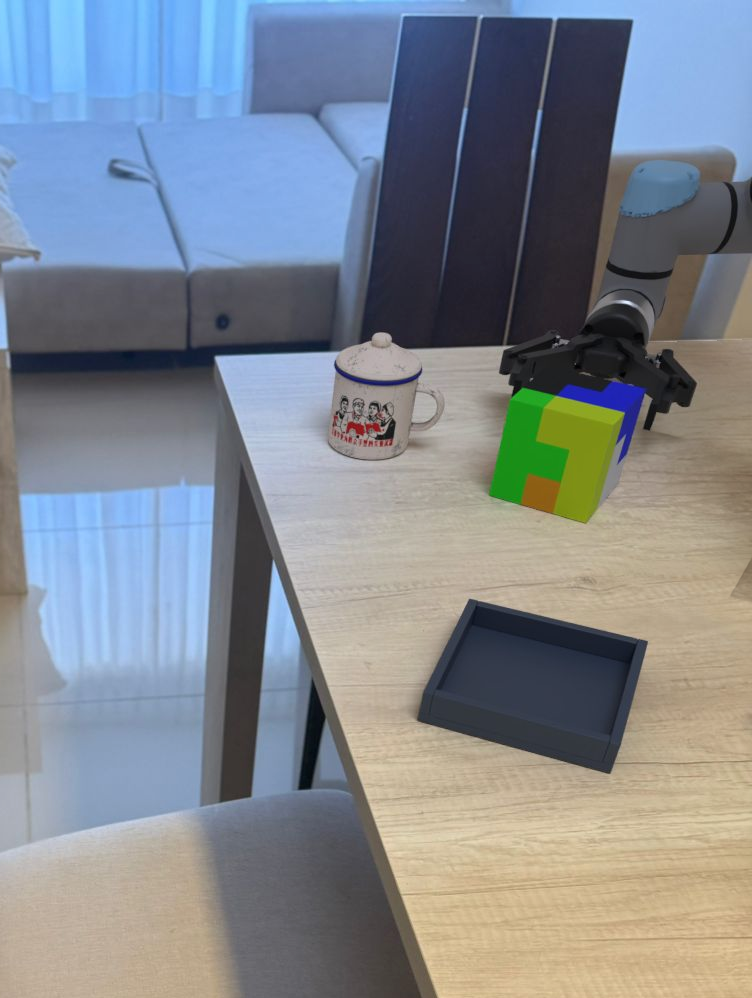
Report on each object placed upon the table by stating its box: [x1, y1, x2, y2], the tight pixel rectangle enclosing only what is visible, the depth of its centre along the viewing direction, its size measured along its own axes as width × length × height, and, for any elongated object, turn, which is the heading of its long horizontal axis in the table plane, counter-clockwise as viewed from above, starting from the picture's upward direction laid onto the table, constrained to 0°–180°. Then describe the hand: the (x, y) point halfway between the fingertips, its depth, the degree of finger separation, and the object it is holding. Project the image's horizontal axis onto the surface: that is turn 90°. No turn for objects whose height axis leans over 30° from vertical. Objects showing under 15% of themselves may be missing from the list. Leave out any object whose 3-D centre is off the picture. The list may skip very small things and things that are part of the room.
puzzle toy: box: [488, 366, 646, 524], centre depth 114 cm, size 10×10×10 cm
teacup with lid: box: [327, 332, 446, 461], centre depth 121 cm, size 12×9×12 cm
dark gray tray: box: [417, 598, 649, 775], centre depth 91 cm, size 15×15×3 cm
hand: (581, 405), depth 119 cm, fingers open, 13 cm apart
